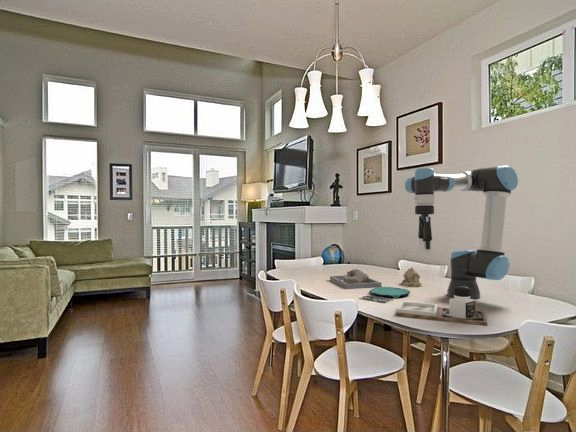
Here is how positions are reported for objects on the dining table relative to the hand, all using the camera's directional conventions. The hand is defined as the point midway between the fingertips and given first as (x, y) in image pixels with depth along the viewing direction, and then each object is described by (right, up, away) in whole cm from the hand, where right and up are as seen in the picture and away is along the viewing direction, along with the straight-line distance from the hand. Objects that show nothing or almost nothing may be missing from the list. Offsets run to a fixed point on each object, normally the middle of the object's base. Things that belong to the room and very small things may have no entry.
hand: (424, 255), depth 158 cm
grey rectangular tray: (-18, -24, +67) cm, 73 cm away
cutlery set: (-8, -25, +33) cm, 42 cm away
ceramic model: (+15, -24, +62) cm, 68 cm away
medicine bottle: (+13, -24, -7) cm, 28 cm away
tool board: (+5, -24, -3) cm, 25 cm away
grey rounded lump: (-18, -24, +66) cm, 73 cm away
